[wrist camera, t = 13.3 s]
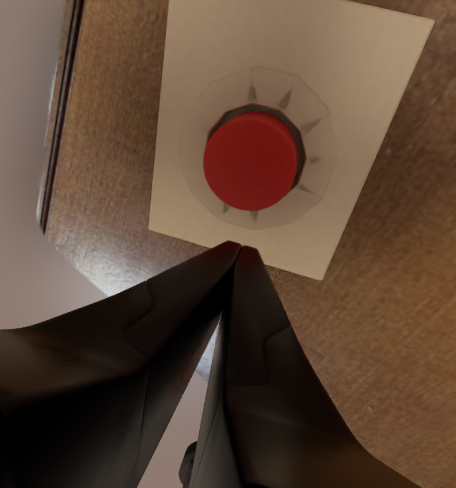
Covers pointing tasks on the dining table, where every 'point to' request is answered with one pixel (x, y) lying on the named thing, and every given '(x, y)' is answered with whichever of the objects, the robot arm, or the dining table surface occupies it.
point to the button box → (279, 114)
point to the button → (251, 161)
